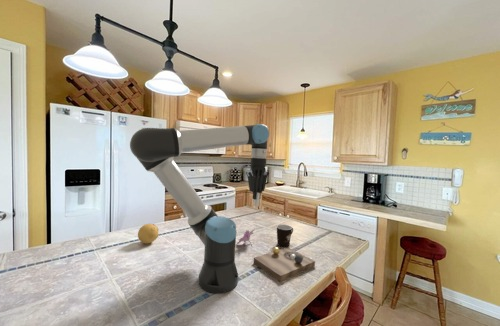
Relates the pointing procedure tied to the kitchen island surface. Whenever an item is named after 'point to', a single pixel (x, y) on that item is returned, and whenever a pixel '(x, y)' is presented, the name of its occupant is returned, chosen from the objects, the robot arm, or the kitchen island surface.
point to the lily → (246, 236)
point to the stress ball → (148, 233)
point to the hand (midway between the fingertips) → (256, 205)
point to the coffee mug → (284, 235)
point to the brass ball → (276, 251)
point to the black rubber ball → (298, 259)
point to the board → (283, 264)
